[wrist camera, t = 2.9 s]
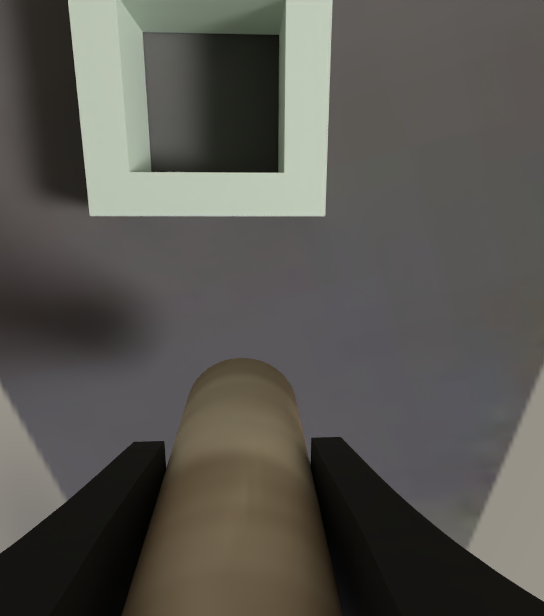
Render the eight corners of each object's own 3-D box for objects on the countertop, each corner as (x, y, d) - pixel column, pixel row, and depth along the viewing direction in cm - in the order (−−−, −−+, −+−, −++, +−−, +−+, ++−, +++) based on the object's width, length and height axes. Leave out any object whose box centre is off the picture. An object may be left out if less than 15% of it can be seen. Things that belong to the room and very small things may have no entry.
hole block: (311, 211, 16) (325, 216, 13) (118, 211, 16) (89, 215, 13) (317, -8, 14) (334, -57, 12) (100, -13, 14) (61, -65, 11)
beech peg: (295, 456, 13) (396, 1048, 4) (189, 459, 12) (45, 1078, 4) (297, 357, 12) (428, 816, 3) (184, 358, 12) (-9, 840, 3)
